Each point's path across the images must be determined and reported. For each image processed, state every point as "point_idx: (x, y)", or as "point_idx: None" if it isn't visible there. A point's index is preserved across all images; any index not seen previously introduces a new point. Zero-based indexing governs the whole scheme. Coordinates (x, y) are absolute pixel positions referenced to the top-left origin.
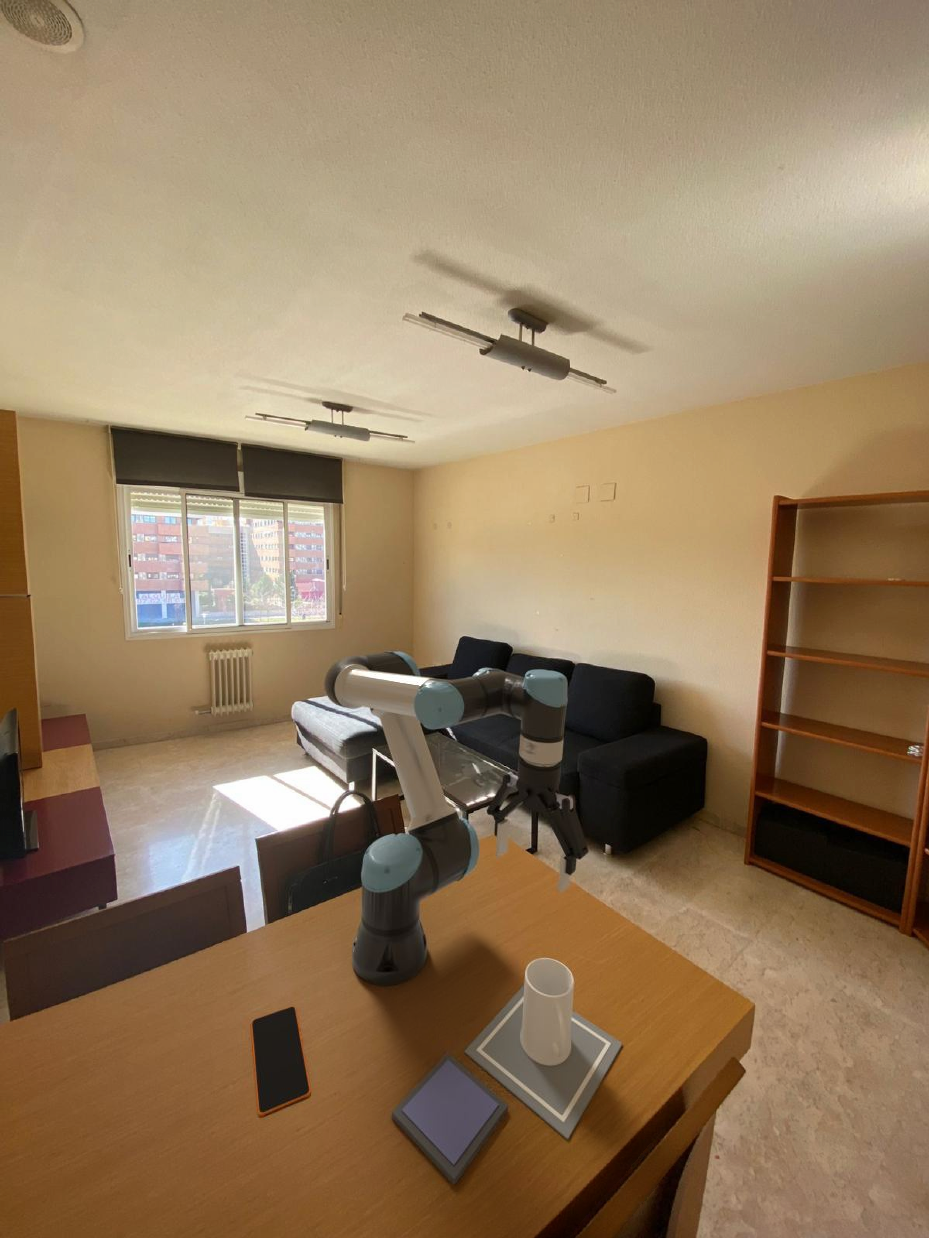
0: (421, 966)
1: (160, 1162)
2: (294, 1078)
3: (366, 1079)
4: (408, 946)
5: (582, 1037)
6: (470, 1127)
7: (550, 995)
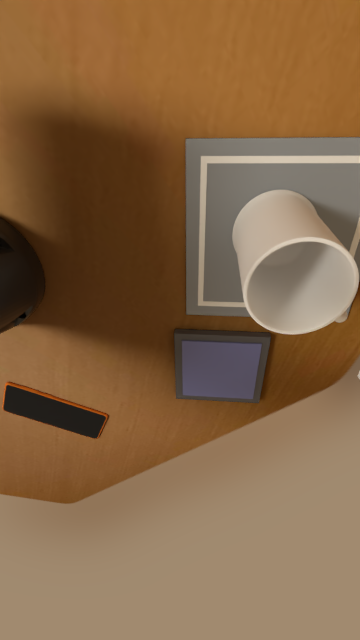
0: (35, 258)
1: (84, 471)
2: (85, 416)
3: (130, 385)
4: (9, 302)
5: (330, 181)
6: (248, 373)
7: (318, 326)
